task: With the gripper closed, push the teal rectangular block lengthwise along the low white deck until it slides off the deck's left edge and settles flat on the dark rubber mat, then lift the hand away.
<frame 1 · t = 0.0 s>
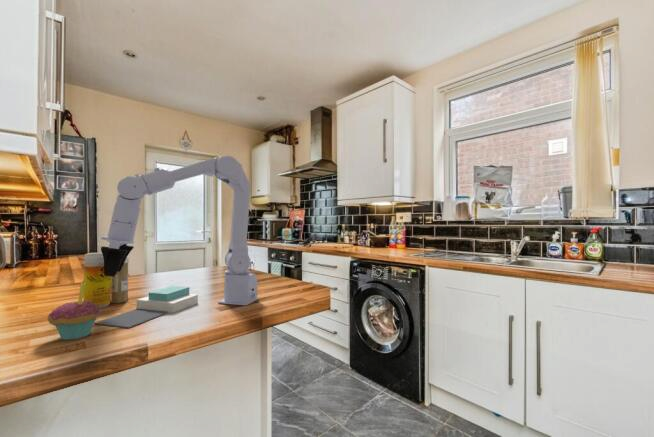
hand: (112, 273, 78), 11 cm above the worktop, tool pointing down, fingers open, 7 cm apart
beer can: (97, 307, 84), on the worktop
sprinkles bottle: (119, 302, 89), on the worktop
mat: (133, 318, 75), on the worktop
cupcake: (74, 336, 63), on the worktop
deck: (168, 305, 86), on the worktop
teal rectangular block: (169, 296, 86), point 2 cm above the worktop, touching deck
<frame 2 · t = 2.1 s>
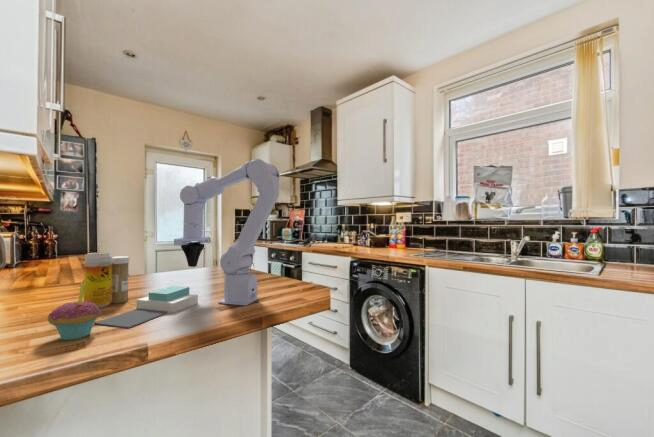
hand: (192, 266, 96), 10 cm above the worktop, tool pointing down, fingers closed
nothing on the worktop moved.
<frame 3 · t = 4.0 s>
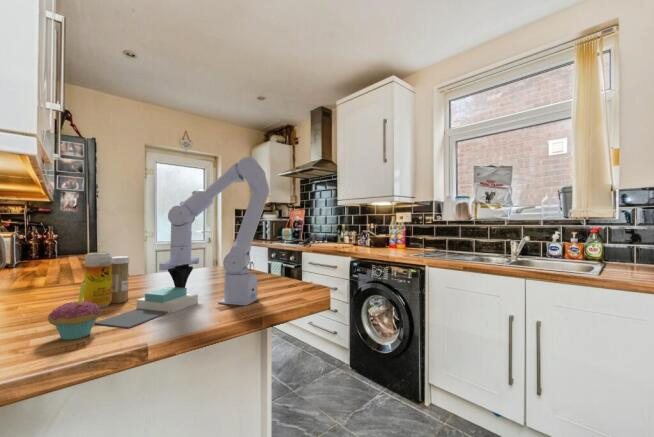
hand: (180, 290, 90), 3 cm above the worktop, tool pointing down, fingers closed
teal rectangular block: (166, 297, 85), point 2 cm above the worktop, touching deck, gripper
everything else where it was.
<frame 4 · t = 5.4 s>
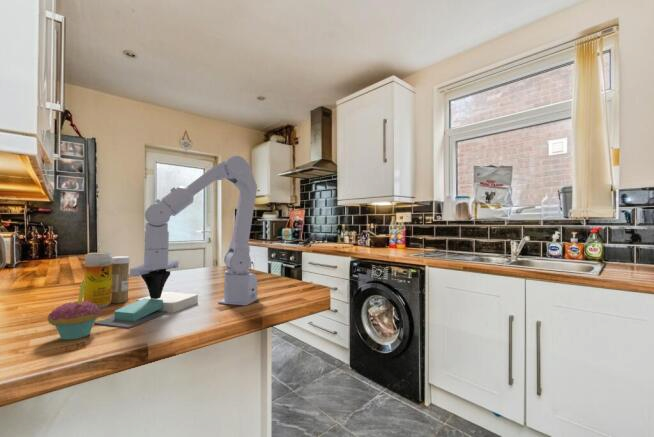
hand: (155, 298, 81), 3 cm above the worktop, tool pointing down, fingers closed
teal rectangular block: (140, 312, 77), point 1 cm above the worktop, tilted 6°, touching mat
everything else where it was.
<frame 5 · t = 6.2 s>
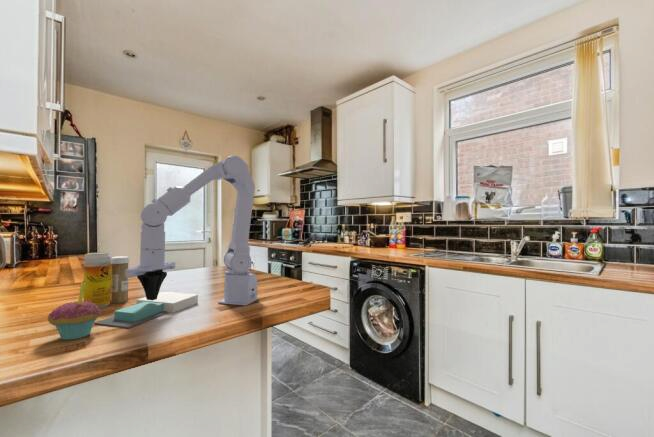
hand: (151, 299, 80), 3 cm above the worktop, tool pointing down, fingers closed
teal rectangular block: (139, 314, 76), resting on mat
everything else where it was.
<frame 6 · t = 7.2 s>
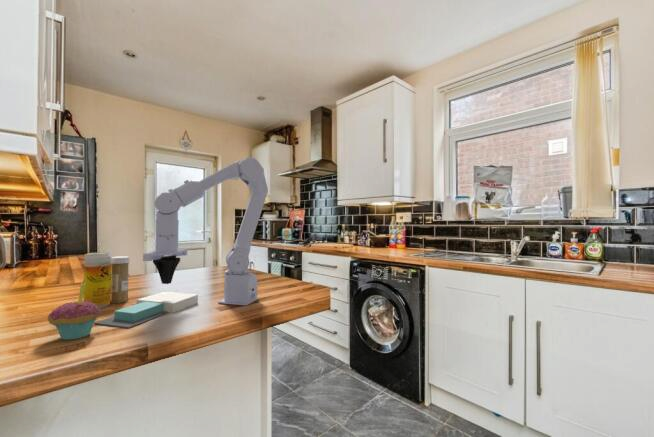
hand: (166, 283, 85), 7 cm above the worktop, tool pointing down, fingers closed
nothing on the worktop moved.
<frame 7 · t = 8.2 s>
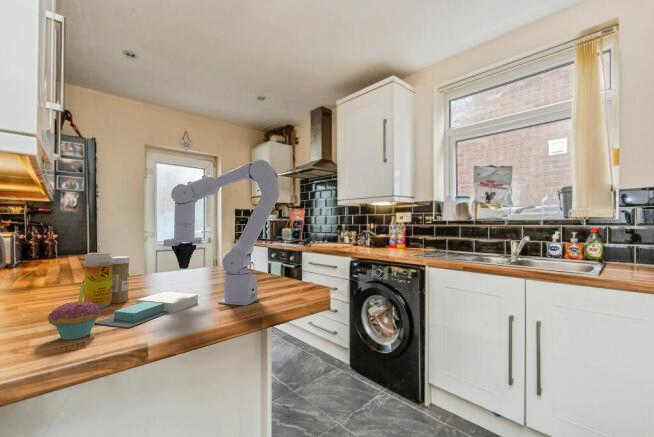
hand: (183, 268, 92), 10 cm above the worktop, tool pointing down, fingers closed
nothing on the worktop moved.
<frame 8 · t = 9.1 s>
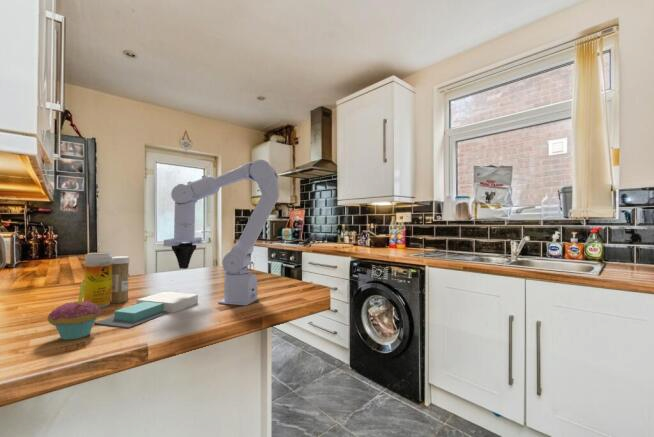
hand: (183, 268, 92), 10 cm above the worktop, tool pointing down, fingers closed
nothing on the worktop moved.
at the end: teal rectangular block resting on mat; teal rectangular block inside the target area on the mat (1.8 cm from its centre), point 0.3 cm above the mat's base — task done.
